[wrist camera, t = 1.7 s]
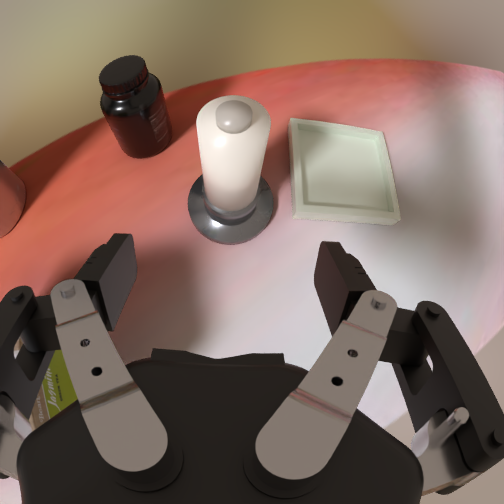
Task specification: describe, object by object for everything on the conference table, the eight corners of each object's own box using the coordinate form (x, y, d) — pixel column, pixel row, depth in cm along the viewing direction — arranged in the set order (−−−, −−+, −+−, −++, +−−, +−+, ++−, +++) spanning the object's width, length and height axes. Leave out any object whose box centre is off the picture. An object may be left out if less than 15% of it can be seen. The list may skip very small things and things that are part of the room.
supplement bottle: (158, 110, 35) (141, 41, 24) (182, 141, 34) (169, 68, 22) (113, 136, 34) (82, 71, 22) (133, 170, 32) (100, 104, 21)
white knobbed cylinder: (203, 210, 27) (191, 141, 17) (206, 164, 29) (200, 87, 18) (256, 212, 28) (273, 144, 17) (257, 166, 29) (271, 90, 19)
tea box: (105, 335, 27) (18, 330, 13) (124, 426, 25) (55, 482, 11) (7, 341, 26) (-81, 333, 11) (21, 420, 23) (-59, 443, 9)
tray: (292, 218, 32) (296, 211, 30) (287, 127, 36) (290, 117, 34) (392, 225, 33) (400, 219, 31) (376, 140, 36) (382, 132, 35)
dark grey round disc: (185, 243, 31) (179, 230, 27) (193, 168, 33) (189, 148, 29) (272, 246, 31) (278, 233, 27) (271, 171, 34) (276, 151, 30)
